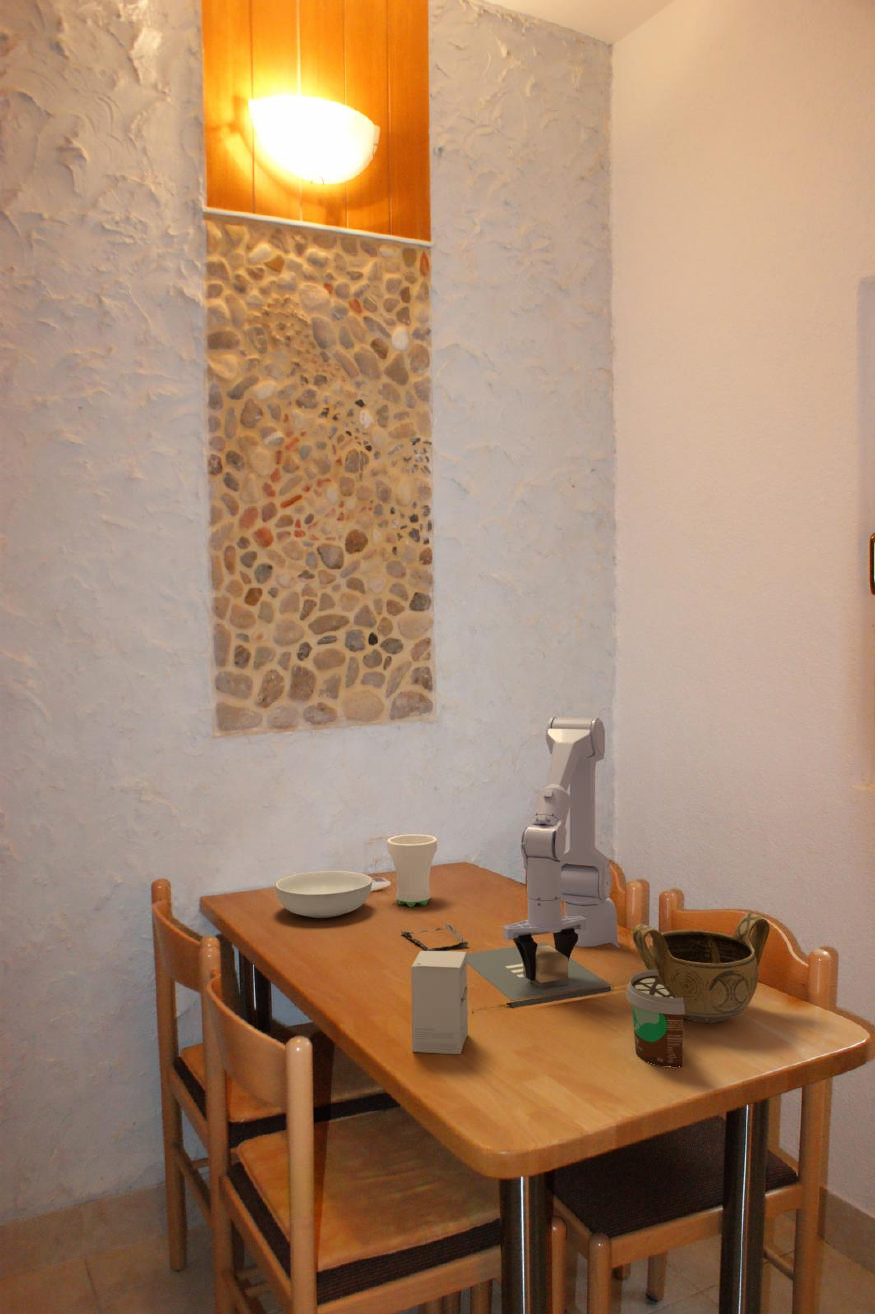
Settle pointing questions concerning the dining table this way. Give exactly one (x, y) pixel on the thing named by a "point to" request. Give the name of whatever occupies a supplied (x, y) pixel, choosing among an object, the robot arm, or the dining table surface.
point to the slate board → (509, 979)
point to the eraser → (550, 968)
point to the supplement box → (439, 1002)
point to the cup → (412, 866)
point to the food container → (656, 1020)
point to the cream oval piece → (323, 893)
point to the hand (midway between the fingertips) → (545, 976)
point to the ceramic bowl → (707, 966)
